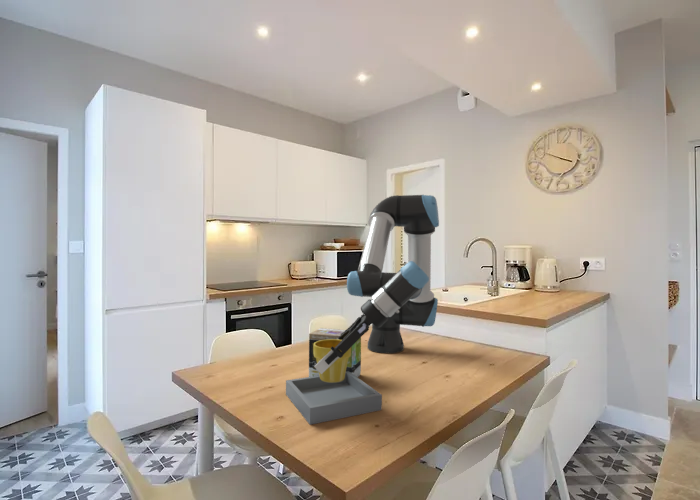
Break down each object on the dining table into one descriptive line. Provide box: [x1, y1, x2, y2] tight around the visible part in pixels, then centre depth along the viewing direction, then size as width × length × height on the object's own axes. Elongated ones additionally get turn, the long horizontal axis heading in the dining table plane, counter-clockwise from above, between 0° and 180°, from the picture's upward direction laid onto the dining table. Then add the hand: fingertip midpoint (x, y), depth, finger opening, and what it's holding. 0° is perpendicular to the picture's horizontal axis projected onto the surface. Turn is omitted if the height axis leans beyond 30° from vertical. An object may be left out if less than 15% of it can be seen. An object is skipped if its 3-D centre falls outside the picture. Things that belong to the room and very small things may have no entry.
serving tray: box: [285, 371, 383, 426], centre depth 103 cm, size 20×20×4 cm
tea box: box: [308, 327, 362, 378], centre depth 123 cm, size 15×10×15 cm
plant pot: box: [313, 339, 351, 383], centre depth 103 cm, size 10×10×10 cm
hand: (321, 363), depth 103 cm, fingers closed on plant pot, 10 cm apart
